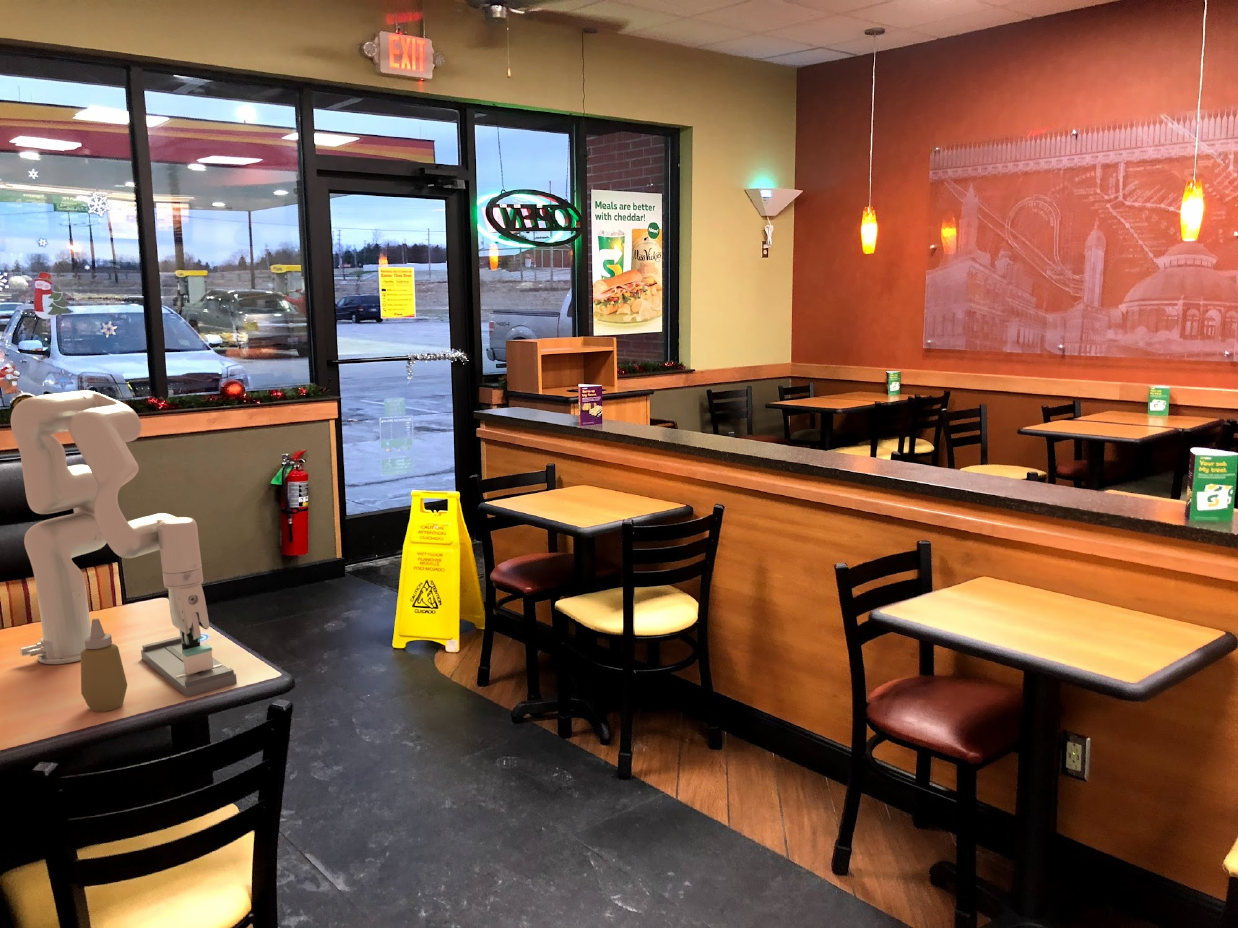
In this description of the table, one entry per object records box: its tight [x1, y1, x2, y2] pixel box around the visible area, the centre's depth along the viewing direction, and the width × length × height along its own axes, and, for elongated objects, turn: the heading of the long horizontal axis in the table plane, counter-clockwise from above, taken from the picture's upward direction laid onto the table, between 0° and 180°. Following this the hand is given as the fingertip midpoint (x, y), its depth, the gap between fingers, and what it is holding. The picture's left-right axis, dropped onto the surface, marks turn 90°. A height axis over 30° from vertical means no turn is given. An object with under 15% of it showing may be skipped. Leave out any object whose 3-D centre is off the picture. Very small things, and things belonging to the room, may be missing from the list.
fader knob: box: [182, 643, 213, 674], centre depth 204 cm, size 5×3×4 cm, turn 132°
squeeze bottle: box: [80, 618, 128, 713], centre depth 191 cm, size 8×8×18 cm
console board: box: [140, 636, 238, 698], centre depth 210 cm, size 10×30×3 cm, turn 42°
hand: (192, 660), depth 207 cm, fingers closed
